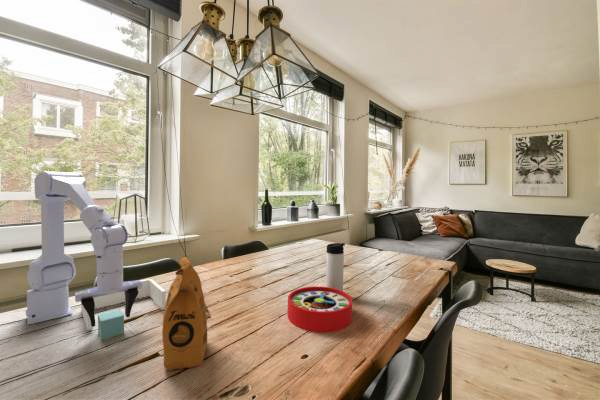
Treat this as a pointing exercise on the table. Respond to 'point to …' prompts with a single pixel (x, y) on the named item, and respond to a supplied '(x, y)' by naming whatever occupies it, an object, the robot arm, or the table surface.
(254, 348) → the table surface
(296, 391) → the table surface
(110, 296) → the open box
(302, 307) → the toy clock
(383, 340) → the table surface
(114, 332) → the teal block
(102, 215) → the robot arm
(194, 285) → the coffee package
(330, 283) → the travel mug
